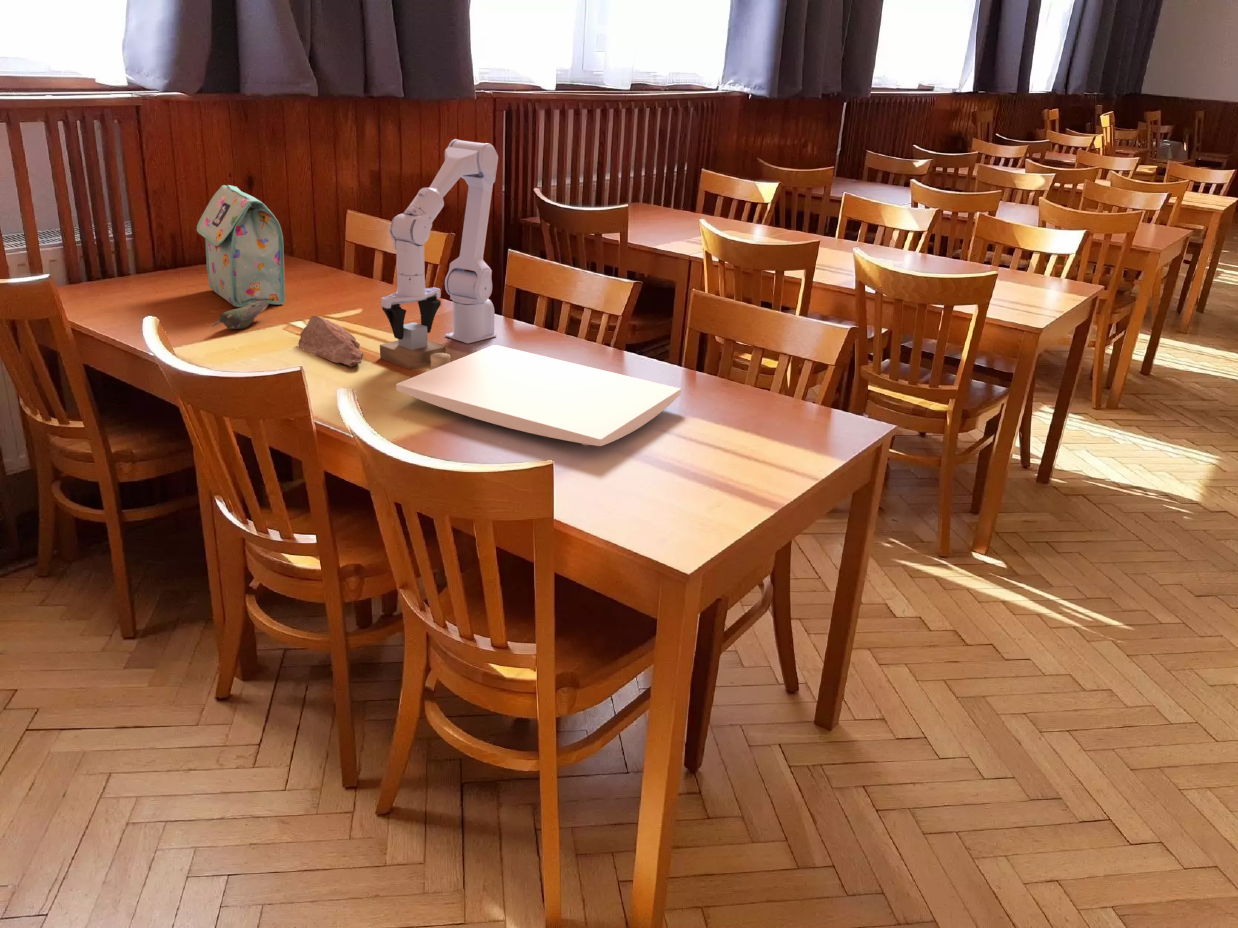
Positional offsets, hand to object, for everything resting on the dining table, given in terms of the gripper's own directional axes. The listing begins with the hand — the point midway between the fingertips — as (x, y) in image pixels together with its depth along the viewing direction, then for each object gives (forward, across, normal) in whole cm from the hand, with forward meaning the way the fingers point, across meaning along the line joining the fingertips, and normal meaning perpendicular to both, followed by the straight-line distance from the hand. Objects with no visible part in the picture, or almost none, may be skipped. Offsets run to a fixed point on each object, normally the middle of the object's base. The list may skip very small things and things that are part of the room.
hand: (412, 335), depth 212 cm
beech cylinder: (+6, +4, +14) cm, 15 cm away
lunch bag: (+6, 0, -65) cm, 65 cm away
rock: (+6, +9, -13) cm, 17 cm away
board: (+6, 0, +39) cm, 39 cm away
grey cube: (+2, 0, 0) cm, 2 cm away
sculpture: (+6, +15, -43) cm, 46 cm away
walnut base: (+5, 0, 0) cm, 5 cm away
